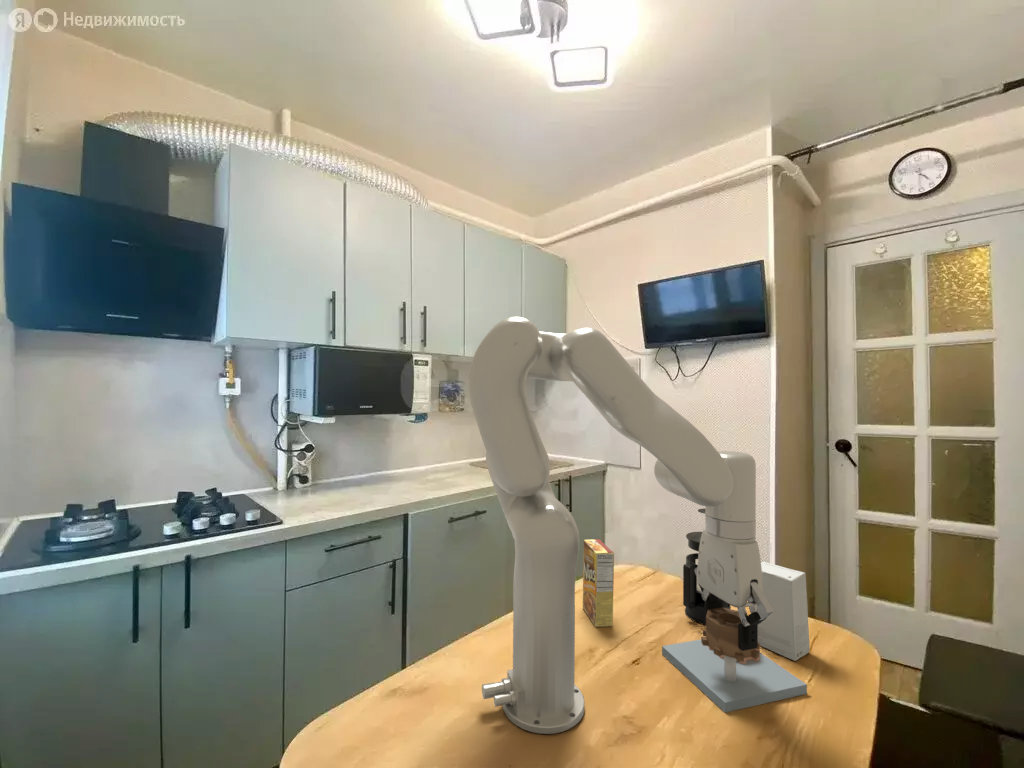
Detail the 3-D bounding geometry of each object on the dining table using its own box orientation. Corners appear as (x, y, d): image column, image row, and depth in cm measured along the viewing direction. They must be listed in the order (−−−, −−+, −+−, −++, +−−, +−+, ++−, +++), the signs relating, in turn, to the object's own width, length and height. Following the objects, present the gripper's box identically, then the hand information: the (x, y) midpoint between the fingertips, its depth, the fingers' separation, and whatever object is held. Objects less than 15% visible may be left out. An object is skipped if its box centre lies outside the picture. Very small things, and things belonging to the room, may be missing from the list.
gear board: (724, 712, 69) (724, 672, 69) (661, 654, 85) (662, 621, 85) (808, 693, 74) (808, 656, 74) (734, 641, 89) (734, 610, 89)
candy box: (581, 607, 103) (582, 539, 103) (599, 606, 103) (600, 538, 104) (595, 628, 94) (595, 553, 94) (614, 626, 95) (615, 552, 95)
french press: (708, 601, 106) (708, 502, 106) (743, 620, 98) (744, 512, 98) (669, 611, 101) (670, 507, 101) (703, 632, 93) (704, 518, 93)
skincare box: (810, 653, 85) (809, 573, 86) (794, 663, 82) (794, 580, 82) (764, 633, 92) (764, 559, 93) (748, 642, 89) (748, 565, 89)
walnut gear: (727, 664, 70) (727, 635, 70) (690, 636, 78) (691, 609, 78) (772, 656, 72) (772, 627, 72) (732, 629, 80) (732, 603, 80)
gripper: (677, 514, 83) (676, 614, 82) (753, 546, 66) (752, 670, 66) (712, 512, 85) (711, 608, 85) (793, 542, 68) (793, 662, 68)
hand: (729, 635), depth 75 cm, fingers closed on walnut gear, 7 cm apart
